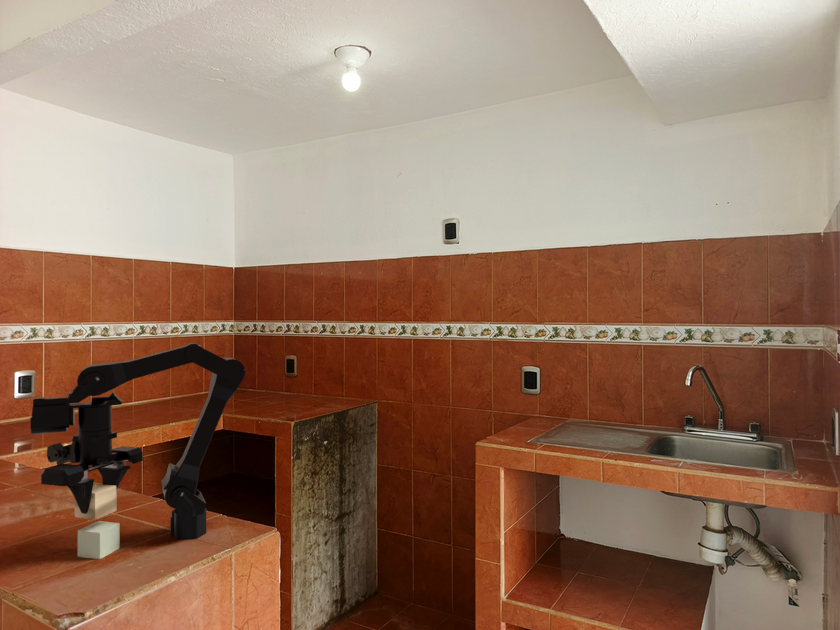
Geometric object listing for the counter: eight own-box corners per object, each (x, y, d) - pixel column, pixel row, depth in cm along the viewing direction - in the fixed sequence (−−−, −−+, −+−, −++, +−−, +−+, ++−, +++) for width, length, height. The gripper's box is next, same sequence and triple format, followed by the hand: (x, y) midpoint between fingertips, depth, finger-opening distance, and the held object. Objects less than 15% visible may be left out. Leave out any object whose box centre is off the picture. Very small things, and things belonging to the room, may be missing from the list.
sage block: (119, 548, 111) (119, 523, 111) (99, 559, 106) (99, 532, 106) (97, 546, 112) (97, 521, 112) (77, 556, 107) (77, 530, 107)
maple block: (116, 510, 111) (116, 485, 111) (95, 519, 106) (95, 493, 106) (96, 508, 112) (96, 483, 112) (74, 517, 108) (74, 491, 108)
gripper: (102, 418, 121) (102, 490, 121) (17, 436, 103) (18, 521, 103) (144, 420, 117) (145, 495, 117) (64, 440, 100) (65, 527, 100)
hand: (96, 508), depth 109 cm, fingers closed on maple block, 5 cm apart
